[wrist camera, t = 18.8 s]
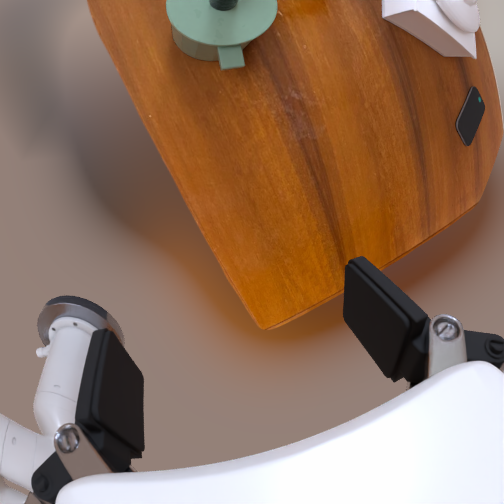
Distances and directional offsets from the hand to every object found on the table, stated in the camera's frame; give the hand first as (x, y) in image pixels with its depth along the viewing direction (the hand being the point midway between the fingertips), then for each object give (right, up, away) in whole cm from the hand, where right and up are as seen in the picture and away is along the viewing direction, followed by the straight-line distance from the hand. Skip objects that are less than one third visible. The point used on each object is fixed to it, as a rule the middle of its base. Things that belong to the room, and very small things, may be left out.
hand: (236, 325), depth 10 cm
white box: (+31, +49, +16) cm, 61 cm away
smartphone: (+50, +34, +29) cm, 67 cm away
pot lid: (-2, +28, +8) cm, 29 cm away
